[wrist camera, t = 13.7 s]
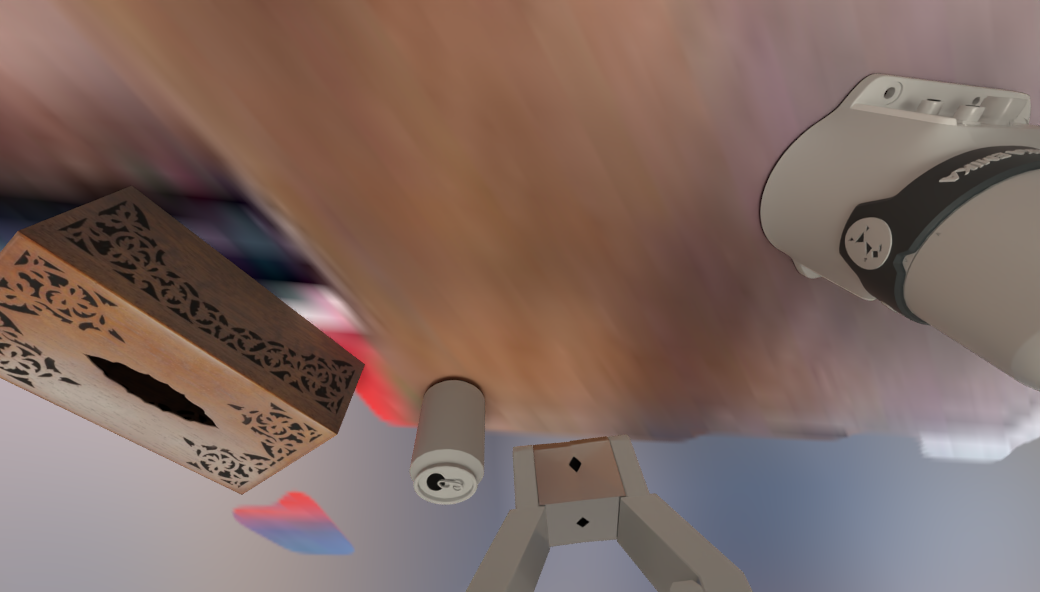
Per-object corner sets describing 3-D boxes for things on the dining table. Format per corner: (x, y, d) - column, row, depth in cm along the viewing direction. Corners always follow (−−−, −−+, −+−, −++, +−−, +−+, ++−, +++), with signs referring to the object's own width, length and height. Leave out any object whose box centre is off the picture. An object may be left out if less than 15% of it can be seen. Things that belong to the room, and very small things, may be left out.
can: (424, 373, 47) (406, 463, 37) (488, 376, 48) (487, 466, 38) (423, 417, 51) (406, 509, 41) (482, 419, 52) (480, 511, 42)
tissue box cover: (50, 276, 38) (-74, 342, 30) (134, 184, 34) (18, 231, 26) (283, 418, 50) (241, 494, 42) (365, 362, 46) (337, 434, 38)
